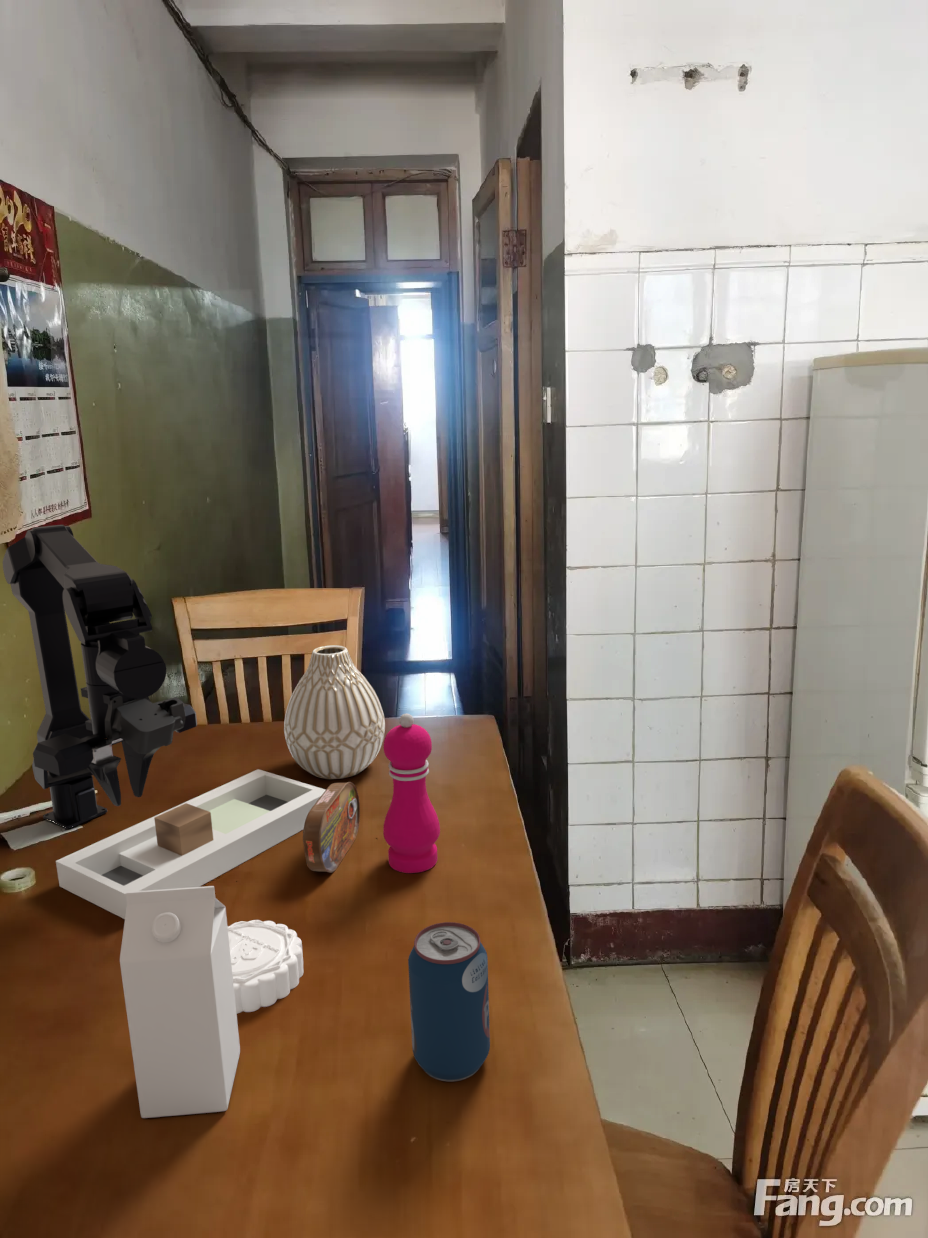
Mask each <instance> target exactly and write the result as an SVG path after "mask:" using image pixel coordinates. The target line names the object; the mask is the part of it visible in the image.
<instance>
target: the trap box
mask: <svg viewBox="0 0 928 1238" xmlns="http://www.w3.org/2000/svg"><path fill="white" fill-rule="evenodd" d="M325 790H326V789H325V788H322V787H318V786H315V785H313V784H308V783H305V782H301V781H299V780H295V779H291V778H289V777H286V776H283V775H278V774H275V773H273V772H268V771H265V770H262V769H259V768H257V769H256V770H253V771H251V772H249V773H247V774H244V775H242V776H240V777H238V778H235V779H232V780H231V781H229V782H227V783H225V784H223V785H222V784H221V786H220V785H219V786H218V787H216V788H213V789H211V790H209V791H207V792H205V793H202V794H200V795H199V796H196V797H193V798H191V799H189V800H187V801H184V802H182V803H180V804H178V805H175V806H173V807H172V808H169V809H167V810H164V811H163V812H161V813H159V814H156V815H154V816H152V817H149V818H147V819H145V820H142V821H141V822H139V823H136V824H134V825H132V826H130V827H127V828H125V829H123V830H120V831H119V832H117V833H114V834H112V835H110V836H108V837H105V838H103V839H101V840H98V841H97V842H95V843H91V845H87V846H85V847H84V848H81V849H79V850H77V851H74V852H73V853H70V854H68V855H66V856H63V857H61V858H60V859H57V860H55V864H56V865H55V867H56V872H57V879H58V884H59V887H60V888H63V889H64V890H66V891H68V892H70V893H72V894H74V895H76V896H78V897H79V898H82V899H83V900H86V901H88V902H90V903H92V904H93V905H96V906H97V907H100V908H102V909H104V910H105V911H107V912H110V913H111V914H113V915H115V916H118V917H119V918H122V919H123V920H125V916H126V908H127V901H126V892H132V891H147V890H161V889H176V888H190V887H202V886H203V885H205V884H207V883H208V882H211V881H213V880H214V879H216V878H217V877H219V876H221V875H223V874H225V873H227V872H229V871H230V870H232V869H234V868H236V867H239V866H240V865H242V864H243V863H244V862H247V861H248V860H250V859H252V858H254V857H256V856H257V855H260V854H262V853H263V852H265V851H266V850H268V849H271V848H273V847H274V846H276V845H277V844H279V843H281V842H283V841H284V840H287V839H288V838H291V837H292V836H294V835H295V834H296V835H297V834H298V833H299V832H301V831H303V829H304V824H305V820H306V817H307V815H308V813H309V811H310V810H311V808H312V807H313V806H314V804H315V803H316V802H317V801H318V799H319V798H320V797H321V796H322V794H323V793H324V792H325ZM185 803H187V804H190V805H192V806H195V807H198V808H201V809H203V810H206V811H209V812H211V821H212V831H213V841H211V842H209V843H207V844H205V845H203V846H201V847H199V848H197V849H195V850H193V851H191V852H189V853H187V854H185V855H183V856H181V855H179V854H176V853H174V852H171V851H169V850H167V849H164V848H162V847H159V846H158V844H157V836H156V828H155V820H154V818H155V817H157V816H159V815H161V814H163V813H166V812H168V811H170V810H172V809H174V808H177V807H179V806H181V805H183V804H185Z"/></svg>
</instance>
